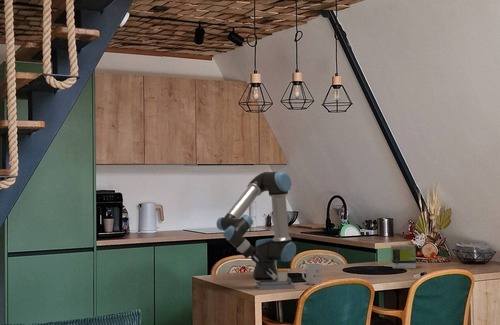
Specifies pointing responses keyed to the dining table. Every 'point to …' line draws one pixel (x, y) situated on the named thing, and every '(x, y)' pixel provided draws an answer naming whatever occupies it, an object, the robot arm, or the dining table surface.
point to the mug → (312, 273)
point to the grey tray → (275, 284)
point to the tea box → (403, 256)
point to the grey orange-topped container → (282, 275)
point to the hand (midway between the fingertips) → (275, 278)
